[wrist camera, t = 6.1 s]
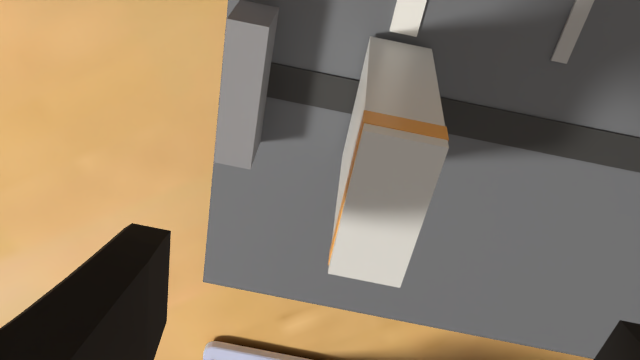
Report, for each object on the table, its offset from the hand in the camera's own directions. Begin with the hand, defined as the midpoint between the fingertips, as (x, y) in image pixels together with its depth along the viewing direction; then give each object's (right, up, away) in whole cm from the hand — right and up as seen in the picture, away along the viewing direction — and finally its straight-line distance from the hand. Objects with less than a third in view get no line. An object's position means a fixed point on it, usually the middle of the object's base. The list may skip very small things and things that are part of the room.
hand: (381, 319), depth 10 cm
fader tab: (+1, +4, +6) cm, 8 cm away
